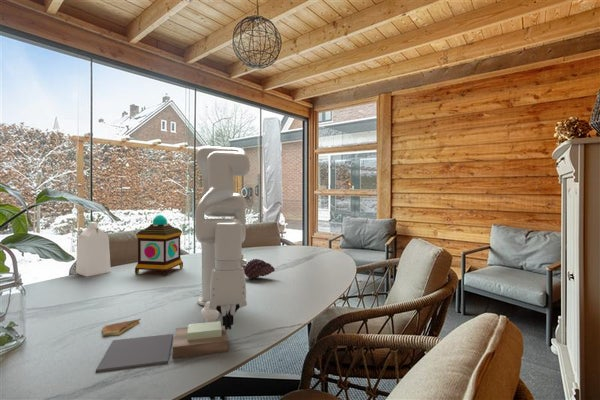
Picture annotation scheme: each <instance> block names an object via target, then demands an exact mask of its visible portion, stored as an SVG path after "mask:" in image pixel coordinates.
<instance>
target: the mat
mask: <svg viewBox="0 0 600 400" xmlns="http://www.w3.org/2000/svg"><path fill="white" fill-rule="evenodd" d="M173 340H174V333H168V334H159V335H158V334H156V335H149V336H148V335H147V336H141V337H139V336H138V337H131V338H129V337H128V338H121V339H114V340H113V339H112V342H111V343H110V345H109V346H108V348H107V350H106V352H105V353H104V355H103V357H102V359H101V360H100V362H99V363H98V364H97V365H98V366H96V368H95V373H101V372H107V371H115V370H124V369H131V368H139V367H147V366H148V367H149V366H155V365H154V364H156V365H162V364H161V363H164V364H168V363H169V359H170V354H169V353H171V348H172V344H173ZM171 343H172V344H171Z"/></svg>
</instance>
